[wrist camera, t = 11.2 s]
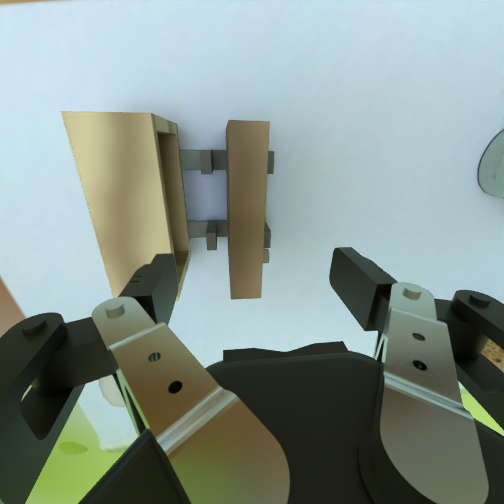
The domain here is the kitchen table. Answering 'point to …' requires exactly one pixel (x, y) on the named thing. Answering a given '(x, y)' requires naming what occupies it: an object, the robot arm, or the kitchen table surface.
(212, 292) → the kitchen table surface
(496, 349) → the brown potato
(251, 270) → the door
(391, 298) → the robot arm
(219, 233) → the cabinet
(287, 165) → the kitchen table surface
